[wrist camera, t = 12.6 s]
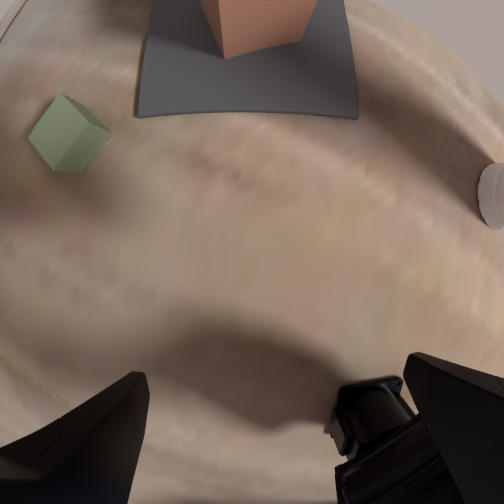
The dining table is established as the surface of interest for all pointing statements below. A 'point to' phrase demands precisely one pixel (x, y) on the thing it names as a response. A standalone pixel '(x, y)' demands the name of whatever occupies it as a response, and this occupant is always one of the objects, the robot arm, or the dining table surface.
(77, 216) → the dining table surface
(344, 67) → the charcoal mat
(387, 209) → the dining table surface
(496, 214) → the water bottle
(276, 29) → the pink upright block
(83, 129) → the olive block
